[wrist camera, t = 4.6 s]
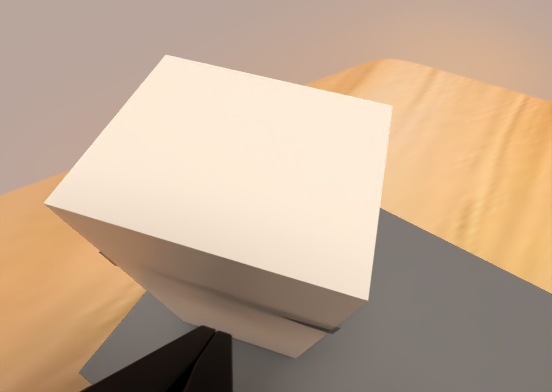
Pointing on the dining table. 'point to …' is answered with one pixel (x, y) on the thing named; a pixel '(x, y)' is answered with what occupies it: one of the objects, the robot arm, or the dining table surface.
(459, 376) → the grey base plate
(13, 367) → the dining table surface
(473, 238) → the dining table surface
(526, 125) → the dining table surface
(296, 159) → the white tall rectangular block
